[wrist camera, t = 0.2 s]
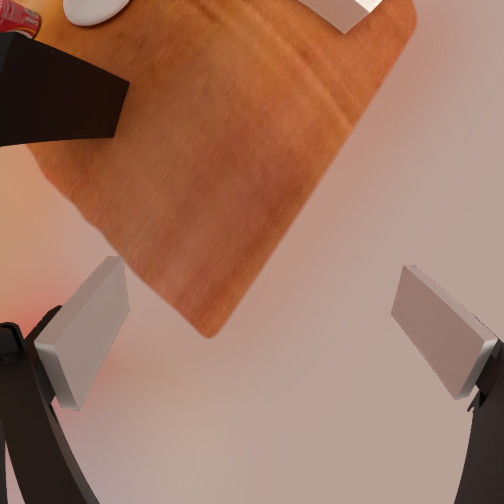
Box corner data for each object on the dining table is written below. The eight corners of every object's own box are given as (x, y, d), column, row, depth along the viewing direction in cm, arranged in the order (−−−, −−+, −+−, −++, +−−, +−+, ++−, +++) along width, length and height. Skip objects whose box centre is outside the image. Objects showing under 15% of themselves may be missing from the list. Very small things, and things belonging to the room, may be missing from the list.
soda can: (45, 30, 29) (0, 10, 18) (16, 55, 30) (-32, 44, 18) (37, 6, 27) (-5, -16, 16) (9, 30, 28) (-36, 16, 16)
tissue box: (114, 138, 36) (-51, 157, 10) (66, 128, 35) (-99, 145, 9) (130, 82, 34) (-16, 20, 8) (81, 74, 33) (-74, 35, 6)
